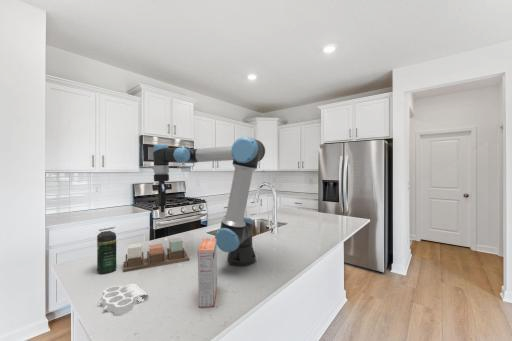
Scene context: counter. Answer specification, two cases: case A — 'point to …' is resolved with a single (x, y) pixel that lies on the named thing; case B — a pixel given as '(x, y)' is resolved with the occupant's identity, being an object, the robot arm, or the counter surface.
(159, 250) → the terracotta key
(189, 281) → the counter surface
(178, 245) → the sage key
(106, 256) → the coffee jar
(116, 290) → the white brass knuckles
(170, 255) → the board
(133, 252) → the cream key
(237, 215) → the robot arm
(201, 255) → the cracker box
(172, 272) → the counter surface
